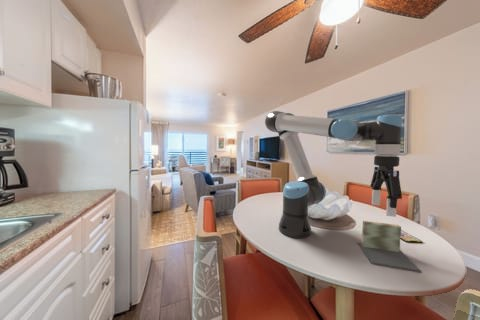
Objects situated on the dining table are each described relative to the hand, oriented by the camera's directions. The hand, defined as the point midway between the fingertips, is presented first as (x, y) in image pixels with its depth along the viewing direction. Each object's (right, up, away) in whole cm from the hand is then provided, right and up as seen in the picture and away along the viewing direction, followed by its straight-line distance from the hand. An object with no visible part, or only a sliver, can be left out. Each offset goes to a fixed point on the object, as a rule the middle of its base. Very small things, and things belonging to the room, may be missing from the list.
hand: (382, 210), depth 70 cm
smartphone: (+20, -16, +14) cm, 29 cm away
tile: (0, -16, +1) cm, 16 cm away
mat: (-1, -16, -3) cm, 17 cm away
